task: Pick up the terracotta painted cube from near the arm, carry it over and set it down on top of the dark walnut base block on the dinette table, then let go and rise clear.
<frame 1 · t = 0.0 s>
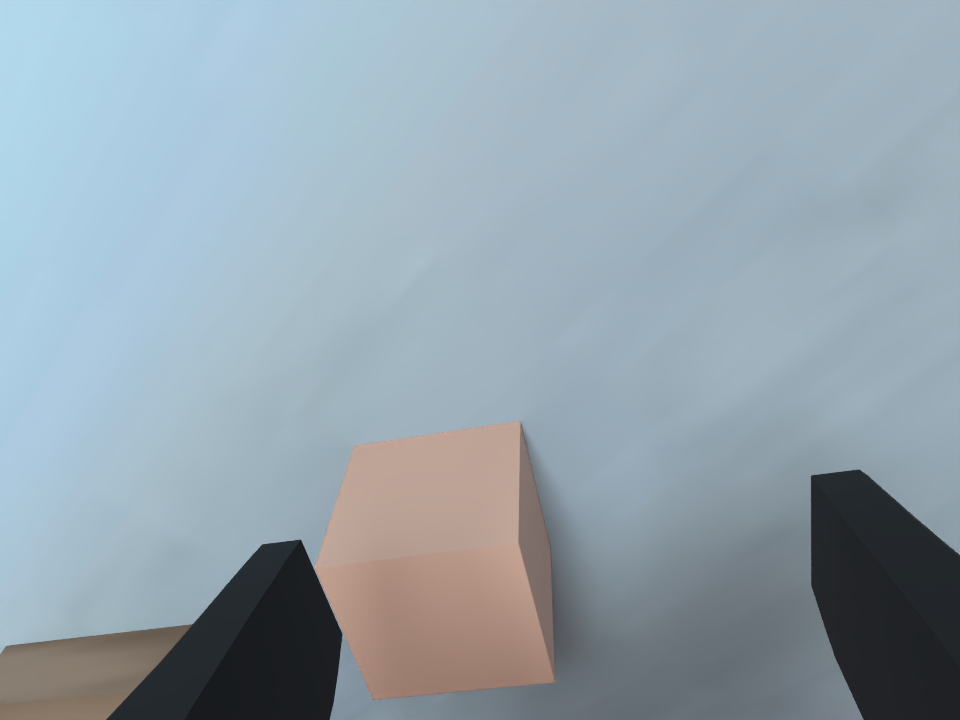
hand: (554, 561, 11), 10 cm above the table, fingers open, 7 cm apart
terracotta cube: (456, 497, 24), on the table
walnut base block: (189, 708, 31), on the table
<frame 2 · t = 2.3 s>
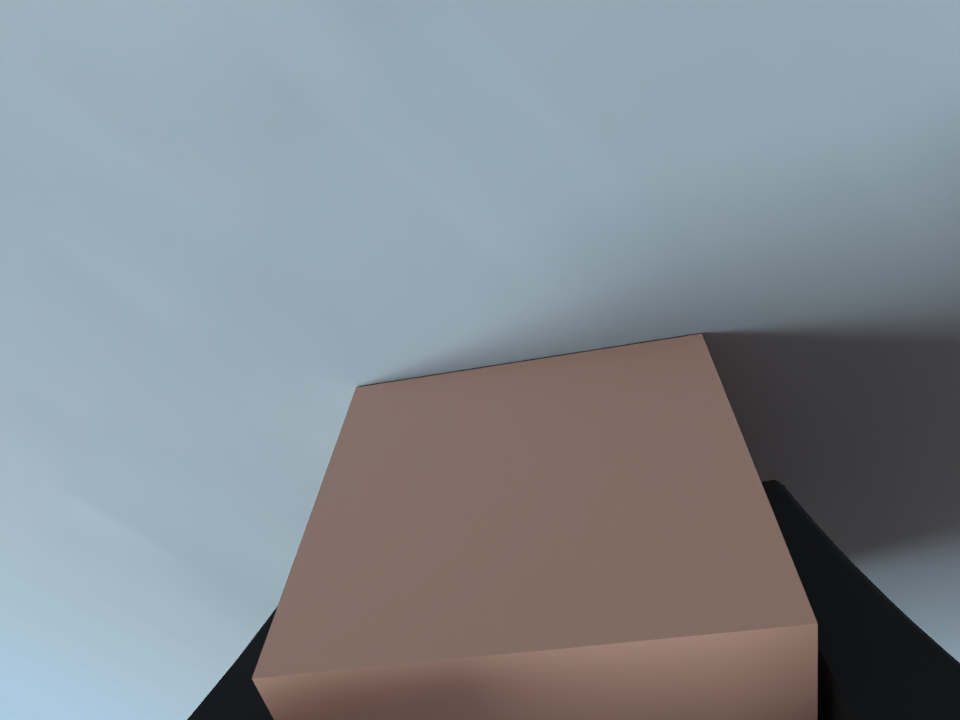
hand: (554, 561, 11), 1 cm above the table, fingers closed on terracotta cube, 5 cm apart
terracotta cube: (551, 495, 12), on the table, touching gripper
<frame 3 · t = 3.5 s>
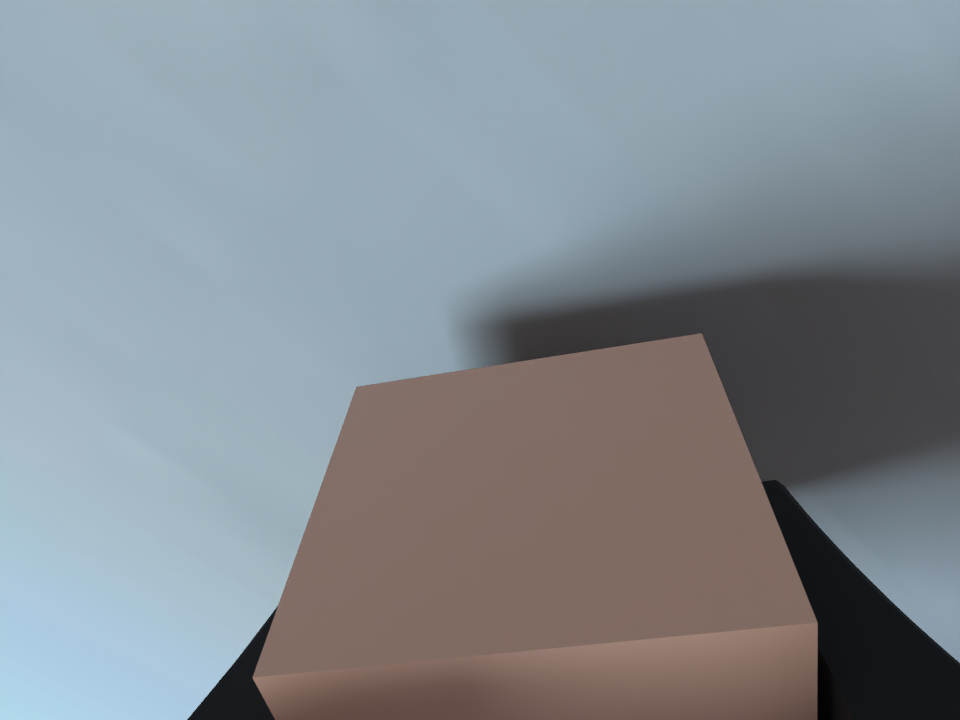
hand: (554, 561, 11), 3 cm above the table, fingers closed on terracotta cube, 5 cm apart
terracotta cube: (552, 494, 12), point 2 cm above the table, touching gripper
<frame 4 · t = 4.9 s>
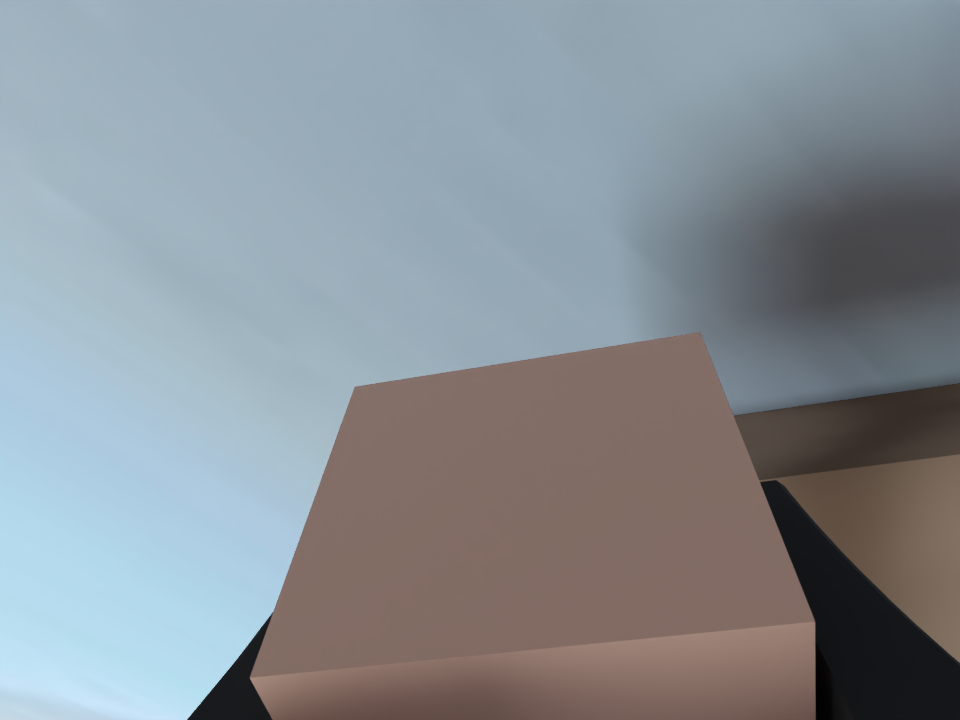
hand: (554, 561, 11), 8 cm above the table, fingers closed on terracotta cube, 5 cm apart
terracotta cube: (550, 494, 12), point 7 cm above the table, touching gripper
walnut base block: (818, 538, 22), on the table
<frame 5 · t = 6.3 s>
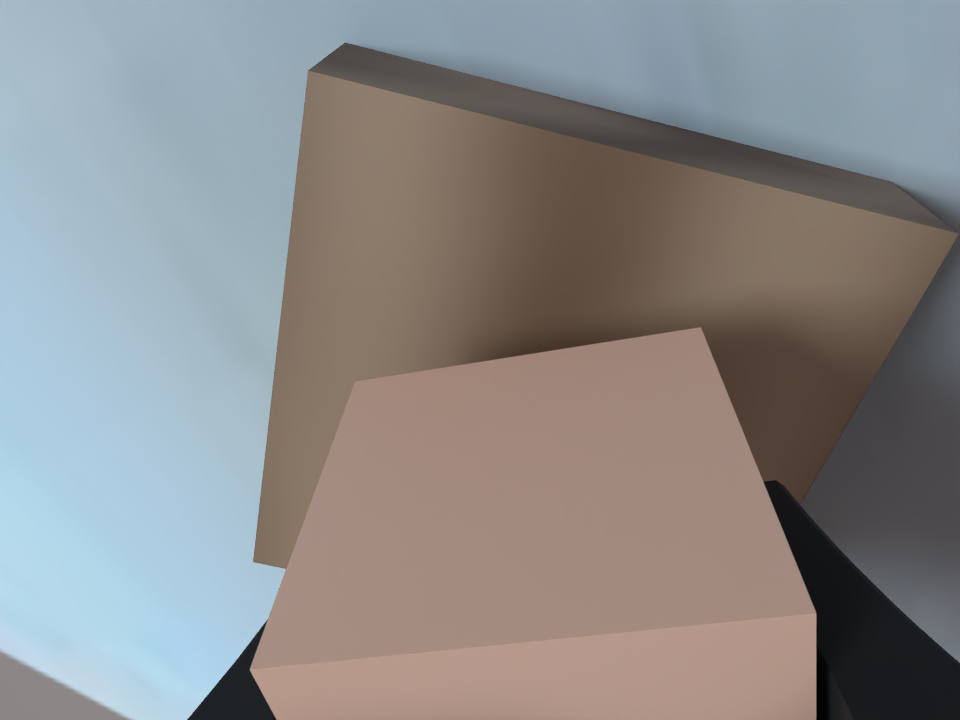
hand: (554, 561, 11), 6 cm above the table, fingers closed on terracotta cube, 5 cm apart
terracotta cube: (550, 489, 12), point 4 cm above the table, touching gripper
walnut base block: (547, 342, 17), on the table
when the fingers open (5 cm above the table, at t = 7.3 s): terracotta cube drops 1 cm, resting on walnut base block.
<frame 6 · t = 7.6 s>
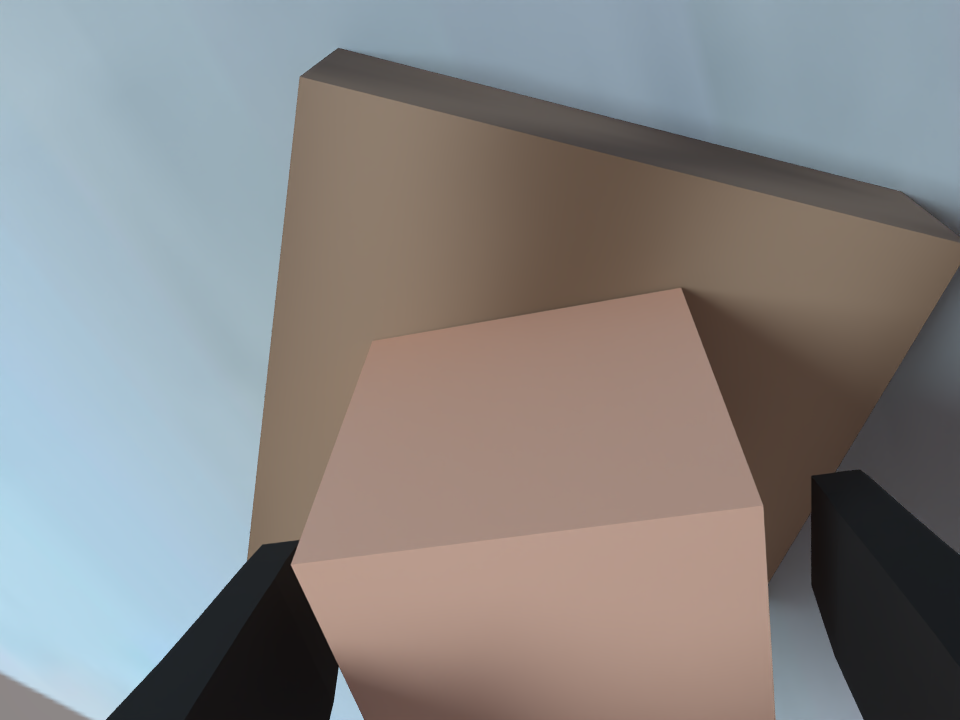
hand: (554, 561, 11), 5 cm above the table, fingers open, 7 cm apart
terracotta cube: (549, 439, 14), point 2 cm above the table, touching walnut base block
walnut base block: (547, 353, 16), on the table, touching terracotta cube
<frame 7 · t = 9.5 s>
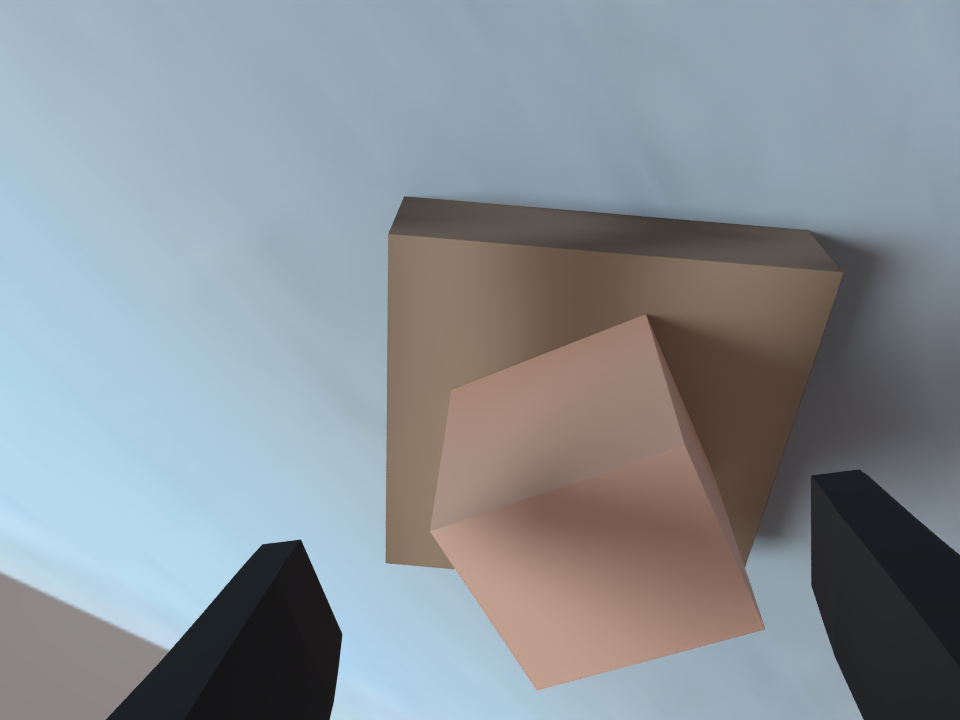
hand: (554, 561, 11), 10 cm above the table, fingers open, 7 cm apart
terracotta cube: (585, 432, 19), point 2 cm above the table
walnut base block: (577, 374, 22), on the table
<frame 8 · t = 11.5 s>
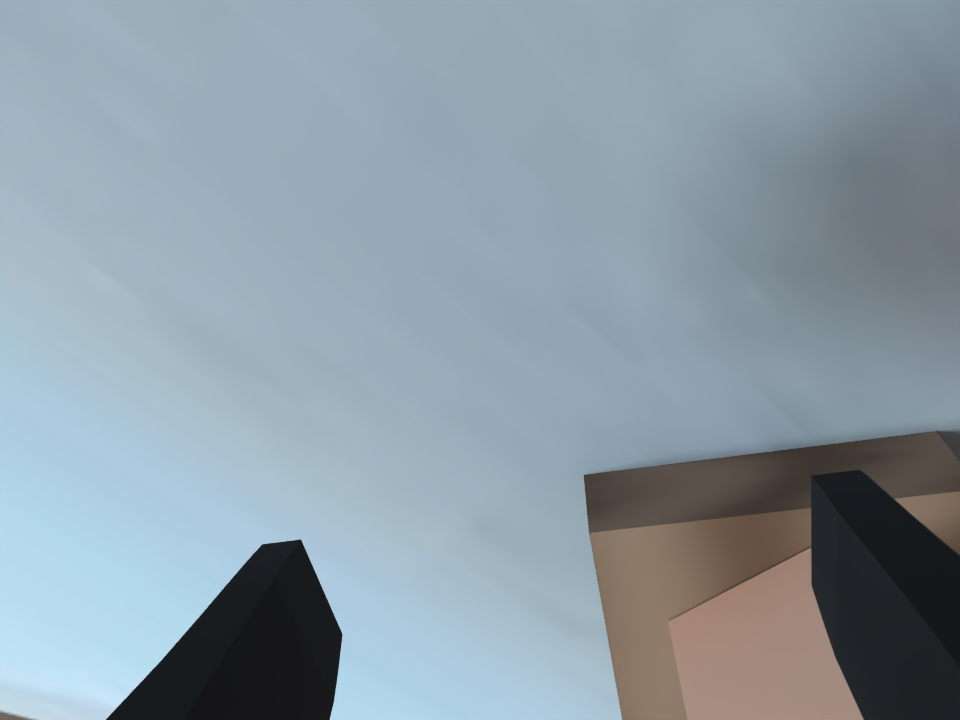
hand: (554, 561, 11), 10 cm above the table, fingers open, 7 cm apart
terracotta cube: (789, 630, 23), point 3 cm above the table, touching walnut base block
walnut base block: (755, 565, 26), on the table, touching terracotta cube
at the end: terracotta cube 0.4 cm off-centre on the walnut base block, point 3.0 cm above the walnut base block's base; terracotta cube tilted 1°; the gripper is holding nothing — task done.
